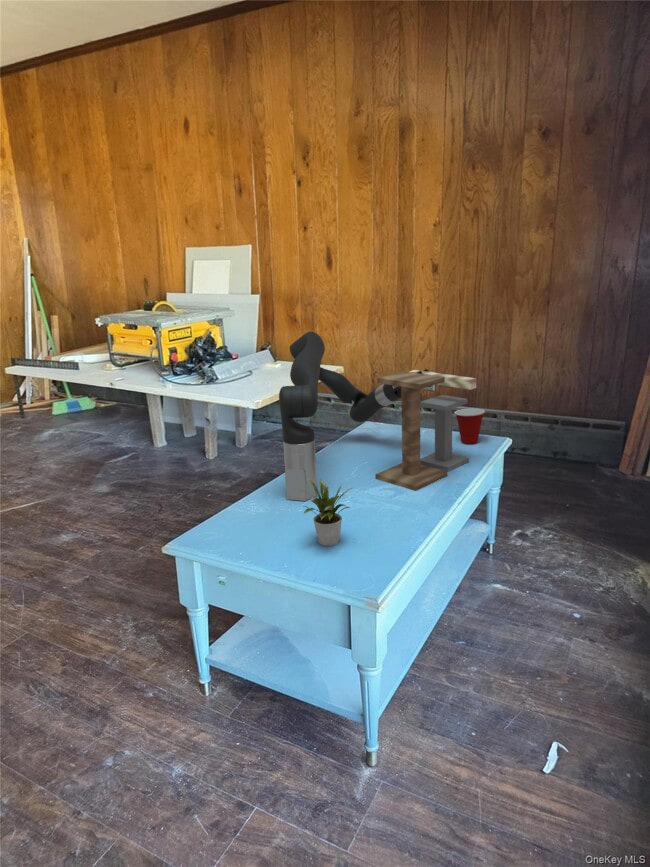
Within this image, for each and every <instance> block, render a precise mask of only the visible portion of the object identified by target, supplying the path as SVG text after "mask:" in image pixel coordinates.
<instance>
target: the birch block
mask: <svg viewBox="0 0 650 867" xmlns="http://www.w3.org/2000/svg"><path fill="white" fill-rule="evenodd" d="M418 371H420V370H419V369H413V370H410V371H408V372H410V373H417V372H418ZM421 371H422V374H426V375H433V376H441V377H445V382H443V383H439V384H436V385H439V386H445V387H450V388H458V389H462V390H464V389H465V390H473V389H477V378H475V377H470V376H469V377H468V376H462V375H454V374H446V373H439V372H431V371H429V372H426V371H424V370H421Z"/></svg>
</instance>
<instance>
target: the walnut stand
mask: <svg viewBox="0 0 650 867" xmlns="http://www.w3.org/2000/svg"><path fill="white" fill-rule="evenodd" d="M376 381H377V384H381V385H382V384H388V385H395V386H401V399H400V400H401V463H399V464H397V465H394V466H392V467H389V468H387V469H385V470H382V471H379V472H378V473H375V480H379V481H381V482H386V483H389V484H392V485H395V486H398V487H401V488H405V489H409V490H412V491H415V492H416V490H417V491H419V490H421V489H423V488H425V487H427V486H430V485H431V483H432V484H433V482H434V483H435V481H436V482H438V481H440V480H442V479H445V478H446V477H449V476H448V474H449V472H448V471H444V470H440V469H436V468H433V467H429V466H425V465H421V464H420V459H421V407H420V402H421V390H422V389H425V388H428V387H432V386H436V385H437V384H439V383H443V382H445V377H441V376H433V375H426V374H418V373H410V372H409V371H403V370H402V371H399V372H396V373H391V374H388V375H384V376H379V377H377V380H376ZM441 478H442V479H441ZM439 479H440V480H439ZM437 480H438V481H437ZM422 487H423V488H422ZM420 488H421V489H420ZM418 489H419V490H418Z"/></svg>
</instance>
